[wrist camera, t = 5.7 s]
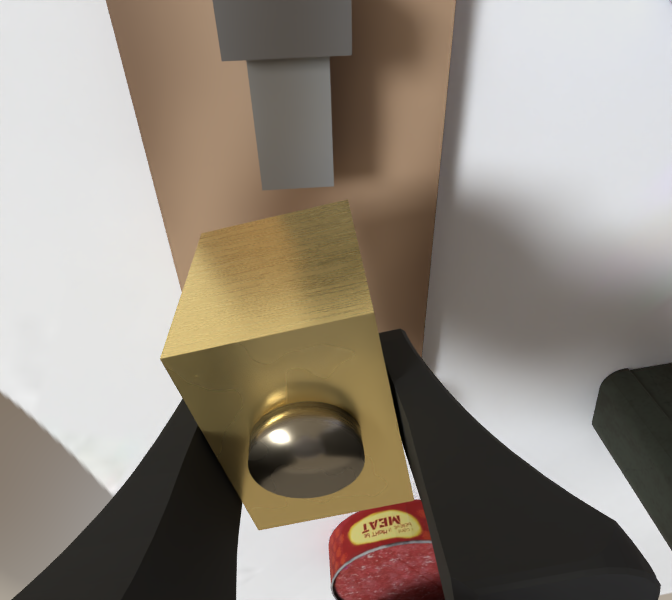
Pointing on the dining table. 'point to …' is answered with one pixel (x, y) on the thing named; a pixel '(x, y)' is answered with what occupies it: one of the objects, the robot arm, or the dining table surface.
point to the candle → (641, 435)
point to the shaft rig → (297, 123)
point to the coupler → (289, 368)
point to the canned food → (384, 555)
